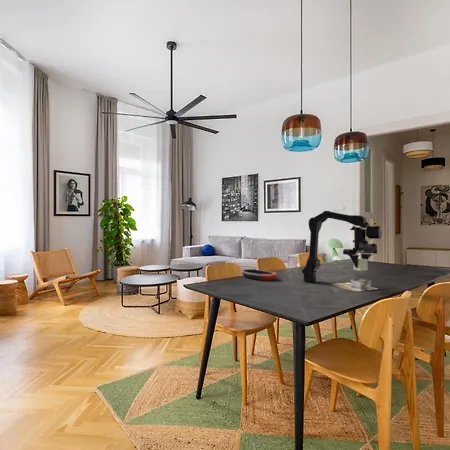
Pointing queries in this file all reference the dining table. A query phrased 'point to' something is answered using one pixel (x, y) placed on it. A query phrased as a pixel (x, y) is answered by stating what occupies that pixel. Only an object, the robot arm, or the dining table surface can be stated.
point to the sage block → (361, 265)
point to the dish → (259, 274)
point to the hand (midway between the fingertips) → (360, 267)
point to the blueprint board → (357, 285)
